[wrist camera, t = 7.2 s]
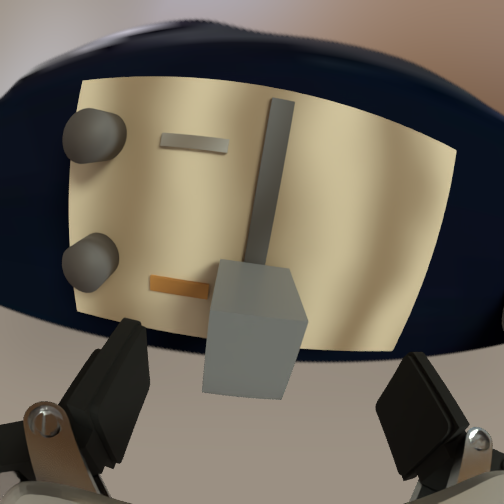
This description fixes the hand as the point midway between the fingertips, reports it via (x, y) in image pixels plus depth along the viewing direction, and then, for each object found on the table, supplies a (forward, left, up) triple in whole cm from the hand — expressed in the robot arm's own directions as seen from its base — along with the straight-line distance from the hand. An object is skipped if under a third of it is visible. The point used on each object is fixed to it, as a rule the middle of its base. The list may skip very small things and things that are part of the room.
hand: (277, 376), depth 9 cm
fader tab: (+1, 0, -5) cm, 5 cm away
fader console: (+1, -3, -10) cm, 10 cm away
